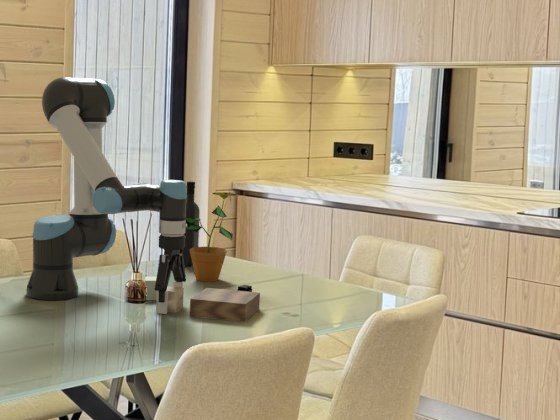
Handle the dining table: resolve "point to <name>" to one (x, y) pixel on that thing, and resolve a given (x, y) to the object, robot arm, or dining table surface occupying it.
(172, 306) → the maple cube
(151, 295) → the sage cube
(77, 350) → the dining table surface
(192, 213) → the wine bottle
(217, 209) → the potted plant
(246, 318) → the walnut block
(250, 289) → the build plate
